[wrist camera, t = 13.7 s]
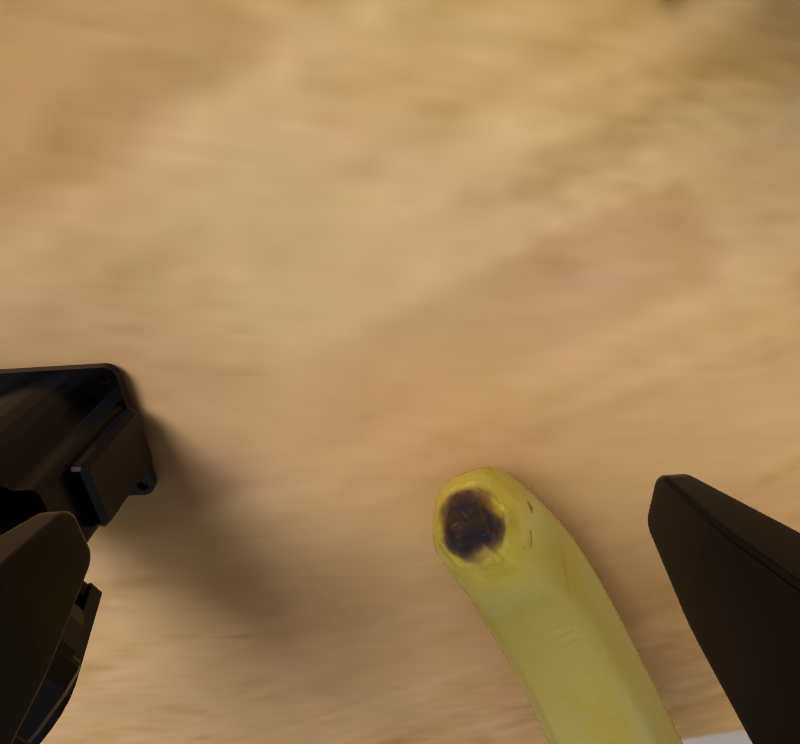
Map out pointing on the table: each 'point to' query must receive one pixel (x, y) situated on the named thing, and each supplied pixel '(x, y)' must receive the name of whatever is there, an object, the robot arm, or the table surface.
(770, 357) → the table surface
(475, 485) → the banana
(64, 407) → the robot arm
